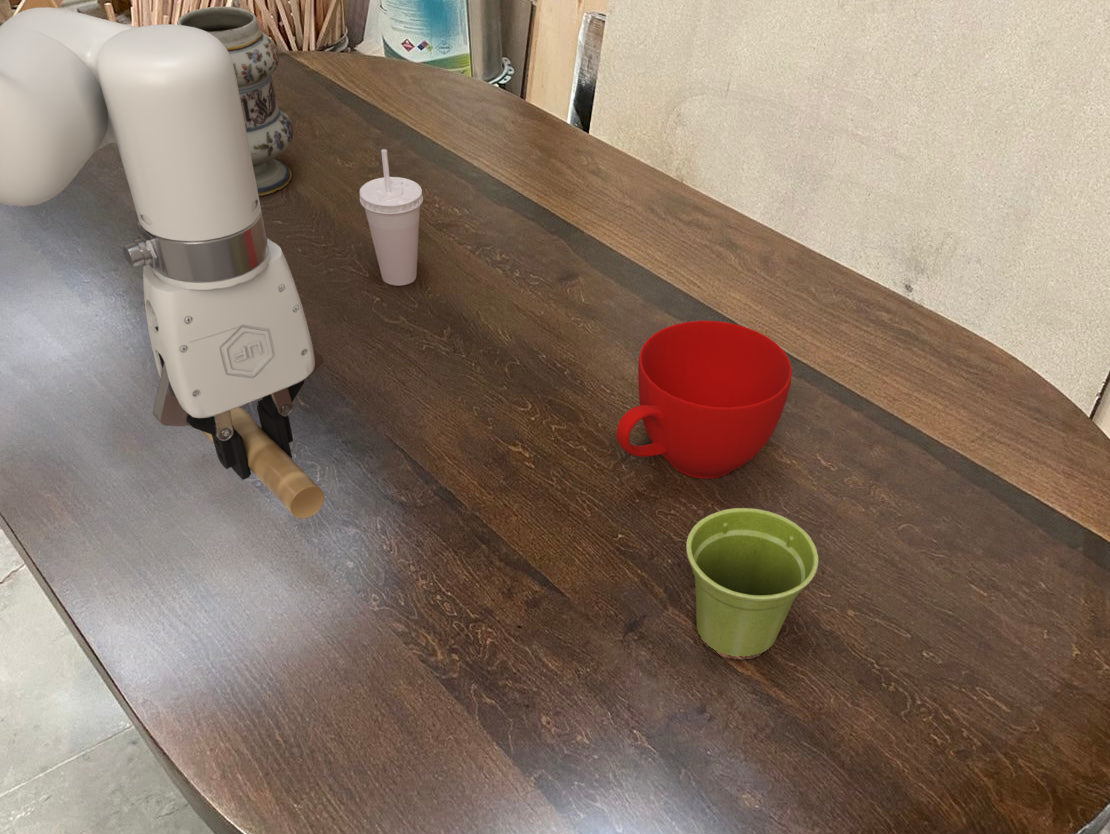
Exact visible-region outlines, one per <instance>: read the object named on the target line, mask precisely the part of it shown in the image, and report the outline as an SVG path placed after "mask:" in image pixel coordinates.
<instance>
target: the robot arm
mask: <svg viewBox="0 0 1110 834" xmlns="http://www.w3.org/2000/svg"><path fill="white" fill-rule="evenodd" d="M110 144H115V145H117V149H118V153H119V156H120V159H121V162H122V167H123V170H124V174H125V176H126V180H127V183H128V187H129V191H130V194H131V198H132V202H133V204H134V208H135V212H136V215H137V218H138V222H136V223H135V224H136V227H137V232H138V233H137V239H134V240H133V242H132V243H129V244H126V245H123V246H122V251H123V255H124V257H125V259H126V261H127V263H128V265H129V266H130V267H132V268H136V267H138V266H143V268H142V277H143V278H142V284H143V285H142V286H143V298H144V309H145V317H146V323H147V330H148V334H149V335H148V336H149V339H150V345H151V349H152V354H153V358H154V359H153V360H154V362H155V366H156V369H157V373H158V376H159V382H158V388H157V391H156V394H155V399H154V403H153V407H152V415H153V417H154V418H155V419H156V420H157V421H158V422H159V424H161V425H162V426H166V427H183V428H185V427H192V428H193V429H195V430H198V431H200V430H201V431H203V432H206V433H209V434H211V435H212V438H213V441H214V444H213V445H214V448H215V449H214V450H215V452H216V456H217V458H218V461H219V462H220V464H221V465H222V467H223V468H225V469H226V470H228V469H230V468H231V469H232V470H233V471H234V472H235V473H236V475H237V476H238V477H239V478H240V479H241V480H243V481H244V480H246V479H249V478H250V477H251V475H252V471H251V470H250V468H249V466H248V459H247V455H246V451H245V446H244V442H243V439H242V437H241V435H240V434H239V433H238V432H237V431H236V430H235V429H234V426H233V425H232V419H231V412H230V410H232V409H234V408H237V407H239V406H241V407H242V406H245V405H247V404H249V403H252V402H255V401H257V405H256V411H257V415H258V418H259V419H258V420H259V423H260V424H259V425H260V427H261V428H262V429H263V430H264V431H265V432H266V433H267V434H268V435H269V436H270V437H271V438H272V439H273V440H274V441H275V442H276V443H277V444H278V446H279V447H280V448H281V449H282V450H283V451H284V452H285V453H286V454H287V455H288V456H289V457H290V458H291V459H292V460H293V455H292V450H291V445H290V443H292V442H293V441H294V437H293V432H292V427H291V422H290V417H289V416H290V415H291V414H292V413H293V411H294V404H293V402H294V401H295V399H296V397H297V395H299V392H300V390H301V389H302V387H303V386H304V384H305V380H306V379H309V378H310V377H311V376H312V375H314V373H315V372H316V371H317V370H318V369H319V368H320V367H321V366H322V365H323V364H324V357H323V355H321V353H320V352H319V351H318V350H317V349H316V348H315V346H314V345H313V342H312V337H311V333H310V330H309V326H308V322H307V318H306V314H305V311H304V307H303V305H302V302H301V297H300V295H299V292H298V291H299V290H298V288H297V285H296V284H295V280H294V277H293V274H292V272H291V271H292V270H291V268H290V266H289V264H288V261H287V258H286V257H285V254H284V252H283V251H282V248H281V246H280V245H279V244H277V243H276V242H274V241H272V240H271V239H269V238H268V237H267V232H266V227H265V221H264V215H263V210H262V207H261V202H260V201H261V200H260V196H258V190H257V185H256V180H255V175H254V169H253V164H252V158H251V153H250V148H249V143H248V137H247V132H246V127H245V122H244V116H243V111H242V106H241V101H240V95H239V90H238V85H237V80H236V74H235V70H234V66H233V62H232V59H231V57H230V54H229V52H228V51H227V49H226V47H225V46H224V45H223V44H222V43H221V42H220V40H219V39H218V38H216V37H215V36H213V35H211V34H210V33H208V32H206V31H204V30H201V29H198V28H195V27H189V26H183V25H177V24H173V23H172V24H171V23H169V24H168V23H167V24H166V23H163V24H162V23H161V24H148V25H141V26H136V25H135V26H134V25H131V24H125V23H122V22H121V23H120V22H117V21H112V20H108V19H104V18H100V17H98V16H97V17H96V16H93V15H89V14H86V13H81V12H78V11H74V10H69V9H64V8H58V7H47V6H45V7H43V6H42V7H41V6H40V7H33V8H28V9H25V10H23V11H20V12H17V13H16V14H14V15H12V16H11V17H10V18H8V19H6V20H5V21H4V22H3V23H2V24H1V25H0V205H4V206H8V207H30V206H37V205H40V204H43V203H45V202H48V201H50V200H52V199H53V198H55V197H57V196H58V195H59V194H61V193H62V192H63V191H64V190H65V189H66V188H67V187H68V186H69V185H70V184H71V182H72V181H73V180H74V179H75V177H76V176H77V175H78V174H79V173H80V171H81V170H82V169H83V167H84V166H85V165H86V163H87V162H88V161H89V159H90V158H91V157H92V155H93V154H94V153H96V152H97V151H100V149H103V148H105V147H107V146H108V145H110ZM194 392H195V393H194Z"/></svg>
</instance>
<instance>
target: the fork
mask: <svg viewBox="0 0 1110 834" xmlns="http://www.w3.org/2000/svg"><path fill="white" fill-rule="evenodd" d="M194 393H195V392H194ZM230 412H231V419H232V425H233V426H234V429H235V430H236V431H237V432H238V433H239V434H240V435H241V437H242V439H243V442H244V446H245V451H246V455H247V459H248V466H249V468H250V471H251V473H253V475H254V476H256V477H257V479H259V481H260V482H261V483H262V484H263V486H265V488H267V489H268V491H269V492H270V493H271V494H272V495H273V496H274V497H275V498H276V499H277V500H278V501H279V503H281V504H282V505H283V507H285V509H286V510H287V511H288V512H289V513H290V514H291V515H292V516H293V517H294V518H296V519H299V520H300V519H301V520H302V519H303V520H304V519H308V518H311V517H313V516H315V515H316V514H317V513H318V512H319V511H320V510H321V509H322V508H323V505H324V503H325V492H324V491H323V489H322V488H321V487H320V486H319V485H318V484H317V483H316V482H315V481H314V480H313V479H312V478H311V477H310V476H309V474H307V473H306V472H305V470H303V469H302V468H301V467H300V466H299V465H298V464H297V463H296V462H295V460H293V458H292V459H291V458H290V457H289V456H288V455H287V454H286V453H285V452H284V451H283V450H282V449H281V448H280V447H279V446H278V444H277V443H276V442H275V441H274V440H273V439H272V438H271V437H270V436H269V435H268V434H267V433H266V432H265V431H264V430H263V429H262V428H261V425H260V424H258V423H257V422H256V421H255V420H254V419H253V418H252V416H250V414H249V413H248V412H247V411H246V410H245V409H244V408H243V407H242V406H239V407H237V408H234V409H232V410H230ZM199 431H201V430H199ZM201 433H202V434H203V435H204V436H205V437H206V438H207V440H208V441H209V442H210V443H211V444H213V445H214V441H213V438H212V435H211V434H209V433H206V432H203V431H201Z"/></svg>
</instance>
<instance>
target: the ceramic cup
mask: <svg viewBox="0 0 1110 834" xmlns="http://www.w3.org/2000/svg"><path fill="white" fill-rule="evenodd" d="M637 364H638V366H637V367H638V368H637V369H638V370H637V371H638V372H637V382H638V383H637V385H638V402H639V405H636V406H635V407H632V408H630V409H629V410H627V411H626V412H625V413H624V414H623V415H622V417H620V420H619V422H618V424H617V427H616V440H617V443H618V444H619V446H620V447H621V448H622V449H623V450H624V451H625V452H626V453H628V454H629V455H631V456H634V457H637V458H638V457H639V458H647V457H654V456H659V455H661V456H662V457H663V458H664V459H665V460H666V461H667V462H668V463H669V464H670V465H671V466H672V467H673V468H674V469H675V470H676V471H678V472H680V473H682V474H683V475H686V476H687V477H688V476H689V477H692V478H696V479H697V478H698V479H706V480H707V479H717V478H720V477H724V476H727V475H728V474H730V473H732V472H733V471H735V470H737V469H739V468H741V467H743V466H744V465H745V464H747V463H748V462H750V461H751V460H752V459H753V458H755V457H756V456H757V455H758V454H759V453H760V452H761V451H762V449H763V448H764V447H765V446H766V445H767V444H768V442H769V440H770V439H771V437H772V436H773V434H774V432H775V430H776V427H777V426H778V423H779V421H780V419H781V417H782V414H783V411H784V409H785V406H786V403H787V400H788V396H789V392H790V389H791V385H792V377H793V368H792V364H791V360H790V359H789V357H788V355H787V353H786V352H785V350H783V349H782V348H781V346H780V345H779V344H778V343H777V342H775V341H774V340H773V339H771V338H770V337H769V336H766V335H764V334H763V333H761V332H759V331H757V330H754V329H751V328H749V327H746V326H744V325H741V324H736V323H731V322H726V321H718V320H694V321H693V320H692V321H685V322H680V323H675V324H672V325H670V326H666V327H665V328H662V329H660V330H659V331H657V332H655V333H654V334H652V335H651V336H650V337H649V338H647V340H646V341H645V342H644V344H643V345H642V347H641V349H640V353H639V356H638V363H637ZM641 420H642V423H643V425H644V428H645V431H646V434H647V436H648V438H649V440H650V441H651V443H649V444H641V445H640V444H639V445H633V444H631V442H630V436H631V432H632V430H633V429H634V427H635V426H636V424H637V423H639V422H640V421H641Z"/></svg>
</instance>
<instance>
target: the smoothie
mask: <svg viewBox="0 0 1110 834" xmlns="http://www.w3.org/2000/svg"><path fill="white" fill-rule="evenodd" d="M380 152H381V153H380V154H381V161H382V170H383V177H378V178H374V179H372V180H369V181H367V182H365V183H363V185H362V186H361V187H360V188H359V202H360V205H361V206H362V207H363V208H364V211H365V215H366V220H367V224H368V227H369V231H370V236H371V239H372V244H373V248H374V252H375V256H376V259H377V264H378V267H379V271H380V276H381V279H382V281H383V282H384V283H386V284H388V285H390V286H395V287H396V286H406V285H410V284H412V283H414V282H415V281H416V279H417V272H418V251H419V231H420V209H421V205H422V203H423V202H424V196H423V190H422V187H421V186H420V184H419V183H417V182H416V181H414V180H412V179H409V178H405V177H400V176H390V167H389V158H388V149H385V148H383V149H381V150H380Z"/></svg>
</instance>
